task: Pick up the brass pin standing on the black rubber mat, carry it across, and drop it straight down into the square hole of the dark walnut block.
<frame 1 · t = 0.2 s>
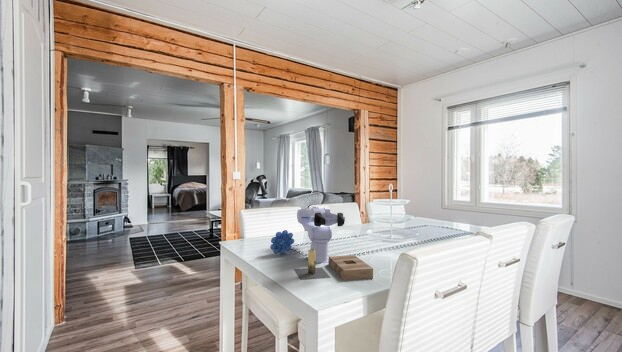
hand: (334, 222, 112), 21 cm above the table, tool horizontal, fingers open, 7 cm apart
blue thick lobed disc: (282, 254, 141), on the table
walnut block: (349, 271, 118), on the table
brass pin: (311, 273, 114), resting on rubber mat
rubber mat: (311, 274, 114), on the table
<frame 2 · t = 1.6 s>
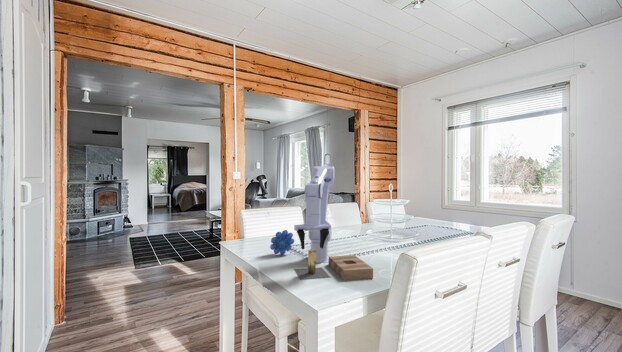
hand: (312, 248, 114), 10 cm above the table, tool pointing down, fingers open, 7 cm apart
nothing on the table moved.
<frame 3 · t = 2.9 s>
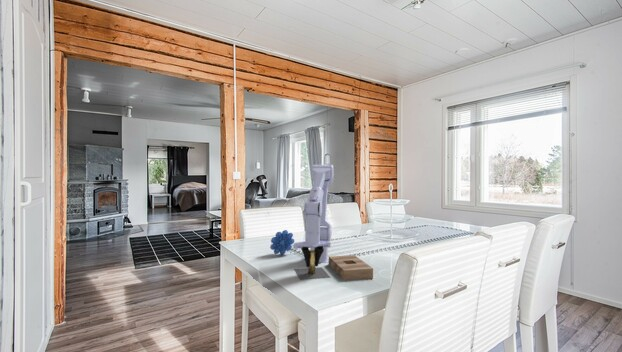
hand: (311, 265, 114), 3 cm above the table, tool pointing down, fingers closed on brass pin, 3 cm apart
brass pin: (311, 273, 114), point 1 cm above the table, touching gripper, rubber mat
everything else where it was.
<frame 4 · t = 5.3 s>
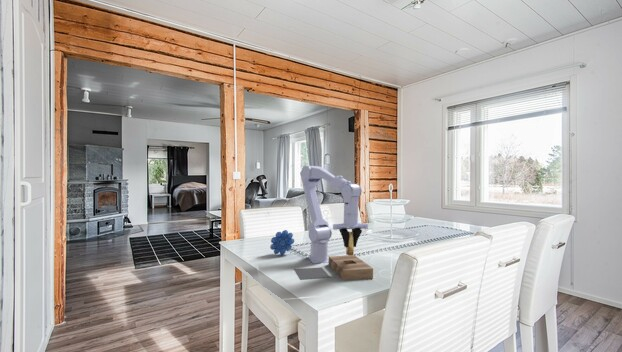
hand: (350, 246, 118), 10 cm above the table, tool pointing down, fingers closed on brass pin, 3 cm apart
brass pin: (349, 254, 118), point 7 cm above the table, touching gripper
everything else where it was.
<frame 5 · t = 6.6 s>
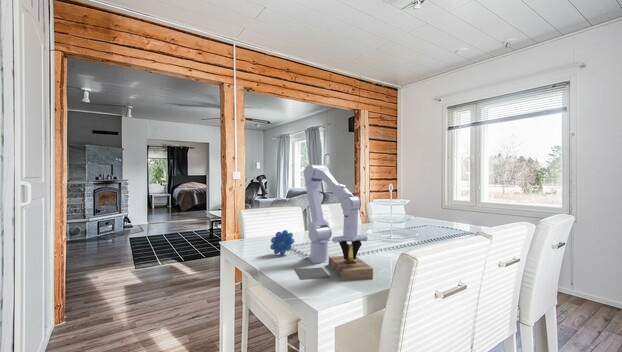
hand: (349, 259, 118), 5 cm above the table, tool pointing down, fingers closed on brass pin, 3 cm apart
brass pin: (349, 266, 118), point 2 cm above the table, touching gripper
everything else where it was.
when the fingers open (5 cm above the table, at t = 7.5 s): brass pin drops 2 cm, resting in walnut block.
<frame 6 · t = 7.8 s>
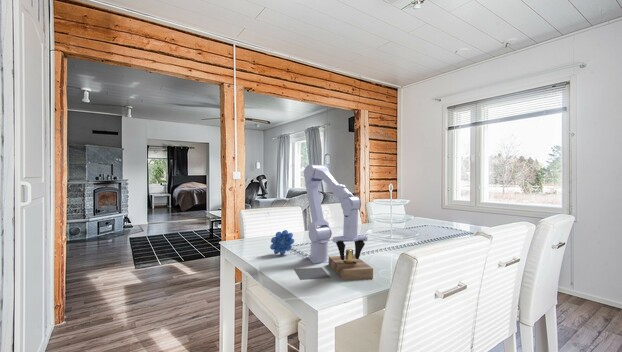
hand: (349, 259, 118), 5 cm above the table, tool pointing down, fingers open, 6 cm apart
brass pin: (349, 271, 118), resting in walnut block
everything else where it was.
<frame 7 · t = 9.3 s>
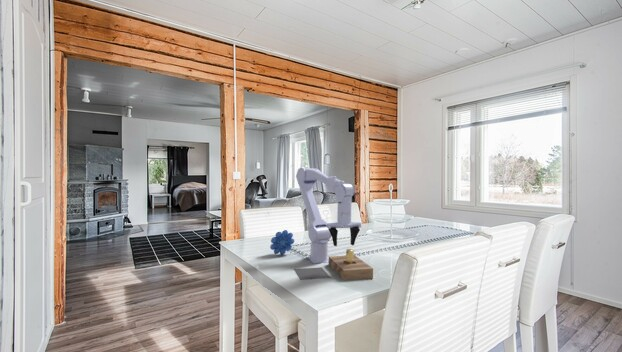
hand: (343, 245, 120), 10 cm above the table, tool pointing down, fingers open, 7 cm apart
nothing on the table moved.
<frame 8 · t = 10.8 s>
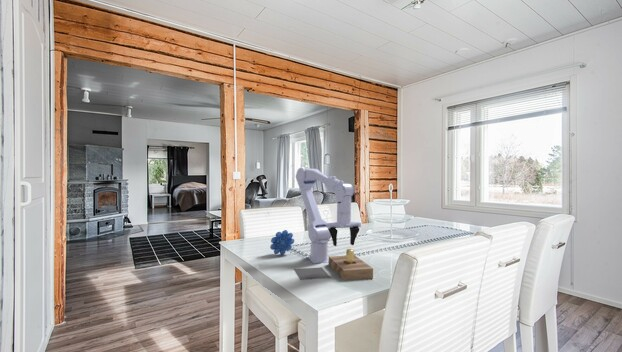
hand: (343, 245, 120), 10 cm above the table, tool pointing down, fingers open, 7 cm apart
nothing on the table moved.
at the end: brass pin 0.1 cm off-centre on the walnut block, point 0.0 cm above the walnut block's base; brass pin tilted 0°; the gripper is holding nothing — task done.
